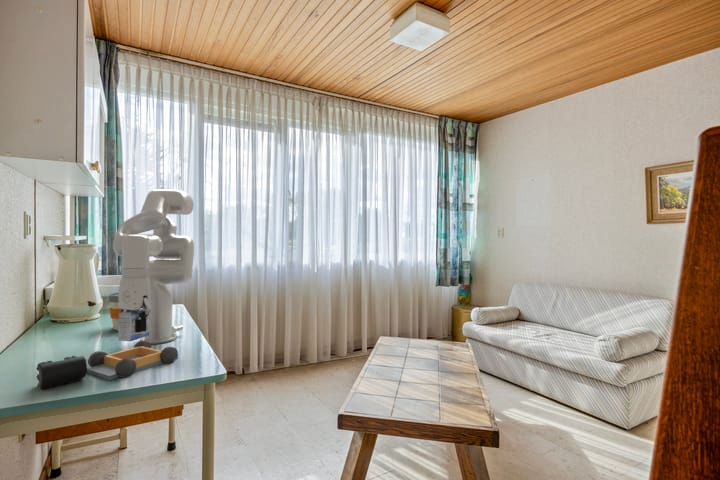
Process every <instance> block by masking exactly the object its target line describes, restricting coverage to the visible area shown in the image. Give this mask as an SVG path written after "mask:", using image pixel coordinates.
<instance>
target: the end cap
mask: <svg viewBox="0 0 720 480" xmlns="http://www.w3.org/2000/svg"><path fill="white" fill-rule="evenodd" d="M87 368H88V362H87V359H86V358H85V356H84V355H80V356H76V355H72V356H67V357H64V358H63V359H62V360H55V361H52V360H48V361H42V362H39V363H37V366H36V370H37V371H38V374H37V375H36V379H37V381H38V383H37V386H38V388H39V389H41V390H45V389H50V388H53V387H57V386H61V385H65V384H70V383H73V382H74V383H75V382H78V381H82V380H83V379H84V378H85V377H86V375H87V374H88V373H87Z"/></svg>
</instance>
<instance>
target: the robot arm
mask: <svg viewBox="0 0 720 480" xmlns="http://www.w3.org/2000/svg"><path fill="white" fill-rule="evenodd" d="M193 210H194V199H193V197H192V196H191V195H190V194H189V193H188V192H185V191H183V190H179V189H162V188H160V189H159V188H158V189H153V190H150V191H149V192H148V193H147V195H146V197H145V199H144V203H143V205H142V208H141V210H140V213H137V214H136V215H132V217H130V218H128V219H127V220H125V221H123V222H122V223H121V224H120V226H119V227H118V229H117V230H116V231H117V232H116V233H115V236H114V239H113V242H112V243H113V244H112V248H113V252H114V253H115V254H116V255H117V256H120V257H121V277H120V282H119V288H118V293H119V296H118V307H119V308H120V309H121V310H122V312H127V311H136V316H137V320H136V322H135V332H136V333H138V332H143V331H146V319H147V318H148V314H149V313H150V319H149V335H148V336H145V337H142V338H139V341H142V340H143V341H147V342H149V343H150V344H151V345H157V344H163V343H168V342H172V341H174V340H176V338H177V335H176V332H181V331H183V329H184V328H183V325H179V326H175V325H173V293H172V291H171V290H170V288H169V287H168V286H167V285H171V284H172V285H173V284H174V285H181V284H182V285H183V284H188V283H189V282H190V281H191V280H192V276H193V269H194V268H193V267H194V258H195V257H194V256H195V242H194V240H193V239H192V238H191V237H190V236H186V235H177V225H176V223H175V222H174V221H173V220H172V219H171V218H170V217H169V216H168V215H188V216H189V215H190V214H192V212H193ZM149 231H153V233H152V234H149V233H147V234H145V233H146V232H149ZM143 233H144V234H143ZM150 257H151V258H152V257H153V258H155V259H152V260H150ZM140 308H141V309H140ZM140 311H143V312H142V313H141V314H140Z"/></svg>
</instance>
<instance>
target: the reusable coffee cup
mask: <svg viewBox="0 0 720 480" xmlns="http://www.w3.org/2000/svg"><path fill="white" fill-rule="evenodd" d="M118 296H119V292H113V293H110V294H109V297H108V302H109V314H110V315H109V316H110V318H111V322H112V328H113V330H114V329H115V330H116V331H119V313H123V312H122V310H121V309H120V308H119V307H118ZM140 309H142V308H140Z"/></svg>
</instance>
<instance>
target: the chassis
mask: <svg viewBox="0 0 720 480" xmlns="http://www.w3.org/2000/svg"><path fill="white" fill-rule="evenodd" d="M178 351H179V350H178V349H177V348H176V347H174V346H166V347H164V348H163V349H162V350H160V349H155V348H152V344H150V343H149V342H147V341H143V340H142V341H140V340H139V341H137V342H135V344H134V346H133V347H132V348H128V349H125V350H121V351H117V352H113V353H110V354H109V353H107V352H104V351H100V350H98V351H94V352H92V353H91V355H89V357H88V358H87V365H88V366H89V367H87V373H86V374H89V375H92V376H94V377H98V378H101V379H105V380H107V379H108V380H107V381H112V380H115V379H118V378H129V377H131V376H132V375H133V374H134V373H136V372H139V371H142V370H147V369H149V368H152V367H153V368H154V367H156V366H158V365H161V364H164V363H167V364H172V363H174V362H175V361H176V360H177V359H178V358H179V352H178Z"/></svg>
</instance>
